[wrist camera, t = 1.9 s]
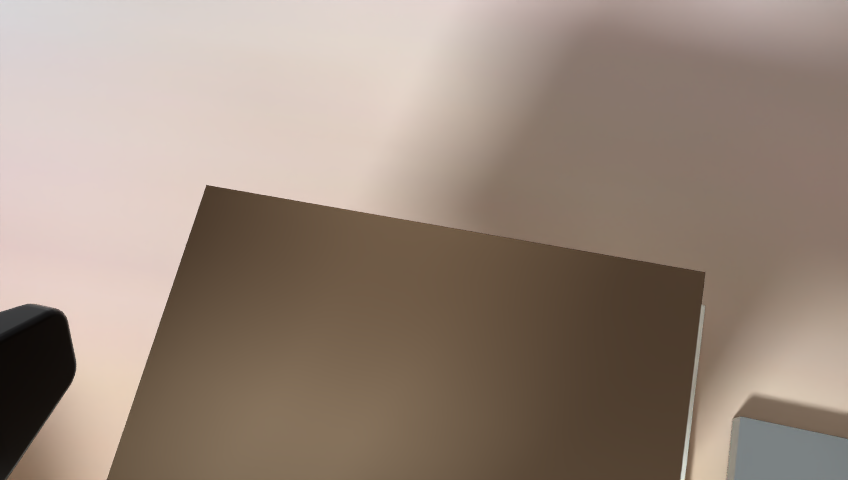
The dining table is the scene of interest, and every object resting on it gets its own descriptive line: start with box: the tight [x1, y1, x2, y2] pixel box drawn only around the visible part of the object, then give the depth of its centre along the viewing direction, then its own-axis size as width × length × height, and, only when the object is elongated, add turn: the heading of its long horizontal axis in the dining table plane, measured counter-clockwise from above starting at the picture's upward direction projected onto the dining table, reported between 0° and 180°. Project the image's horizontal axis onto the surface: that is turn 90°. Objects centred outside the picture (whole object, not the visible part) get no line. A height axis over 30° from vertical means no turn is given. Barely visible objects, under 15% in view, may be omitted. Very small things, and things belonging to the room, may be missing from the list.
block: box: [107, 185, 705, 480], centre depth 11 cm, size 4×5×10 cm
